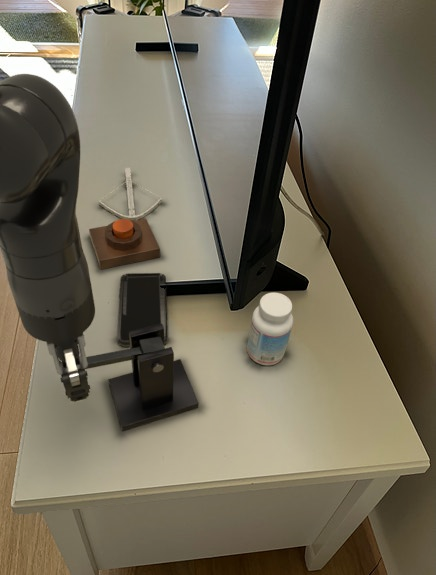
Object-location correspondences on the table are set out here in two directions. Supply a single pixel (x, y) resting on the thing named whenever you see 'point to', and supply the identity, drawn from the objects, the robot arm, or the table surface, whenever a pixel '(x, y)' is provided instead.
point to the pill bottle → (270, 329)
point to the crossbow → (130, 201)
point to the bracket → (151, 385)
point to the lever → (126, 353)
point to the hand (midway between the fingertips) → (75, 379)
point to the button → (123, 228)
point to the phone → (141, 304)
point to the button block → (124, 245)
